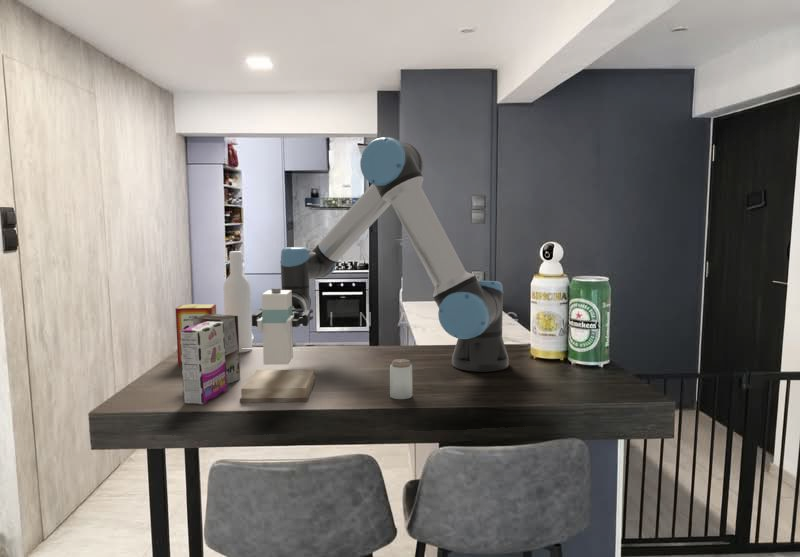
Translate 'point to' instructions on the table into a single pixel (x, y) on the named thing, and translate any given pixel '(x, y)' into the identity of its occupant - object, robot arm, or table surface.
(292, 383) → the podium
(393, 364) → the ceramic jar
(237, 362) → the coffee box
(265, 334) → the carton
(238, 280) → the bottle
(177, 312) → the baking soda box
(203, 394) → the candy bar box
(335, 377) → the table surface
